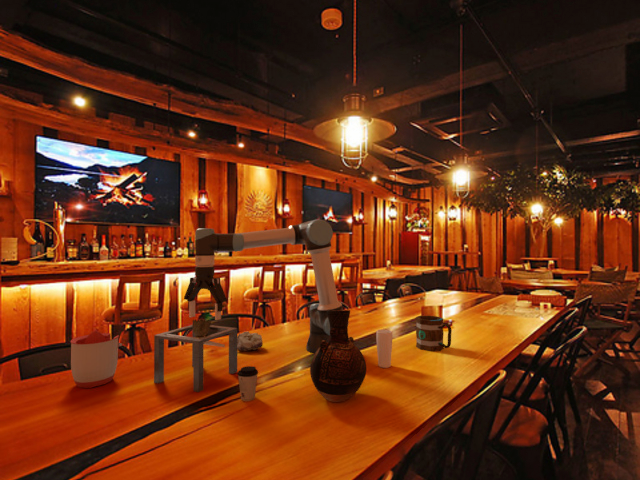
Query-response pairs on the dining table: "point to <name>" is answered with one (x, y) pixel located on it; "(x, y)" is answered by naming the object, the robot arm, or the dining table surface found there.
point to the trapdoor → (204, 342)
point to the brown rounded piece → (201, 328)
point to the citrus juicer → (94, 359)
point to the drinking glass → (384, 347)
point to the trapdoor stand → (193, 352)
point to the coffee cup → (247, 382)
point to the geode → (249, 341)
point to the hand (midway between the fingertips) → (204, 318)
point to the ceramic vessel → (338, 361)
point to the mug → (431, 333)
